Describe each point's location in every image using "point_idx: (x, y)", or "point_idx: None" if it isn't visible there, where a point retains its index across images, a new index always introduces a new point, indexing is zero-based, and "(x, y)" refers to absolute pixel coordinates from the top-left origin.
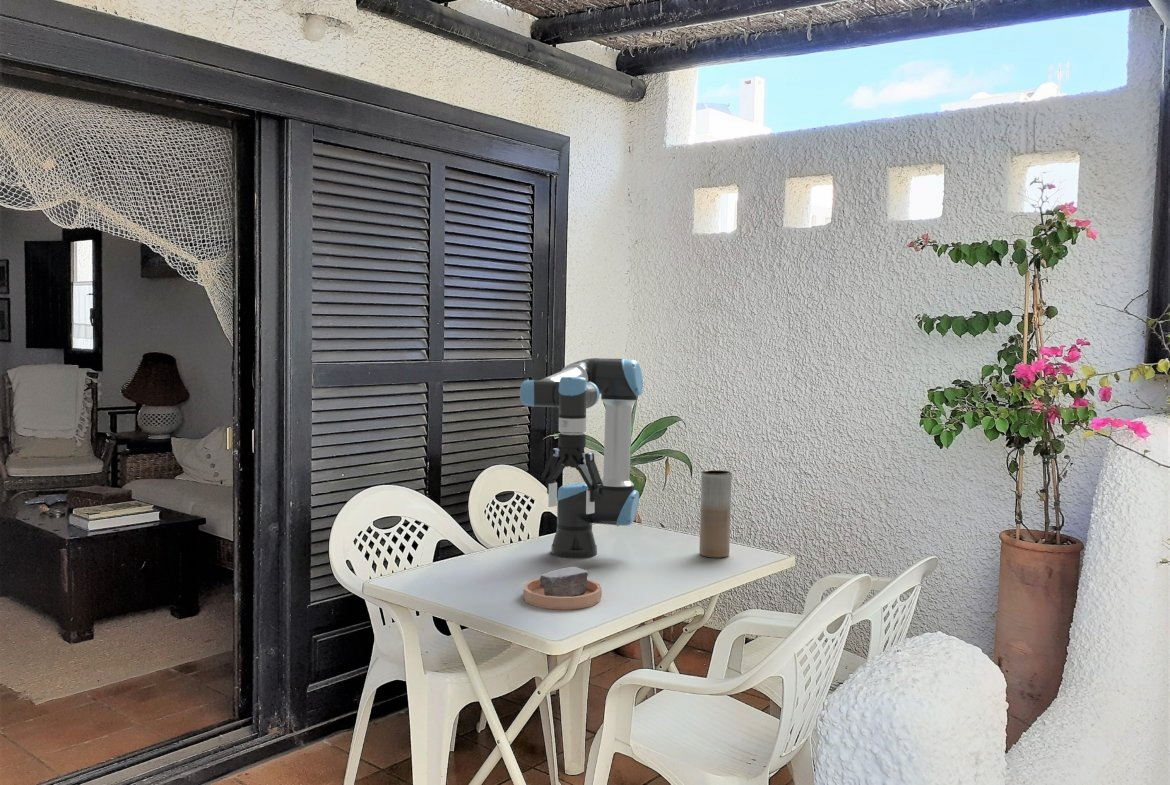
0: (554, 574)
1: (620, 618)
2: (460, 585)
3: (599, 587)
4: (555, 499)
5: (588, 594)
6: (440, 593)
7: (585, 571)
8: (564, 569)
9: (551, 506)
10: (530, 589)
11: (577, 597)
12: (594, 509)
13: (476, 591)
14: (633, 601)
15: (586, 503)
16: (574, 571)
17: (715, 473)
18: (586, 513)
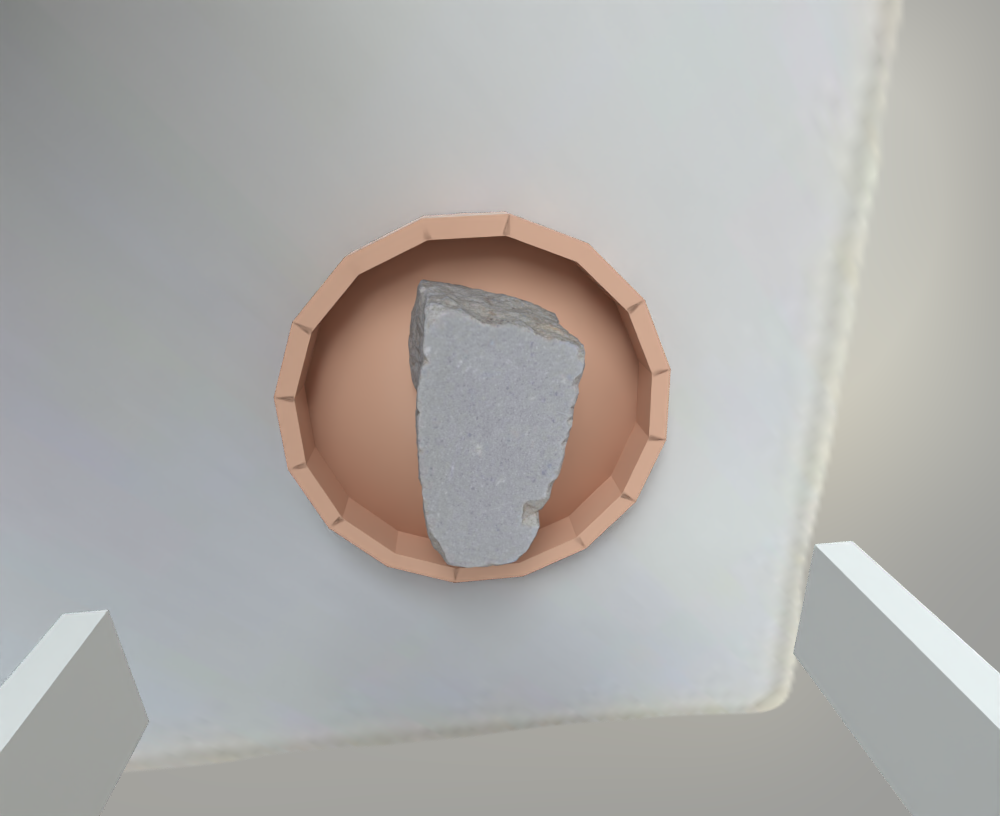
0: (489, 515)
1: (828, 421)
2: (12, 585)
3: (624, 292)
4: (54, 729)
5: (657, 422)
6: None
7: (576, 358)
8: (448, 405)
9: (138, 709)
10: (323, 465)
11: (643, 483)
12: (884, 571)
13: (145, 588)
14: (757, 186)
15: (896, 785)
16: (526, 401)
17: None
18: (803, 656)
